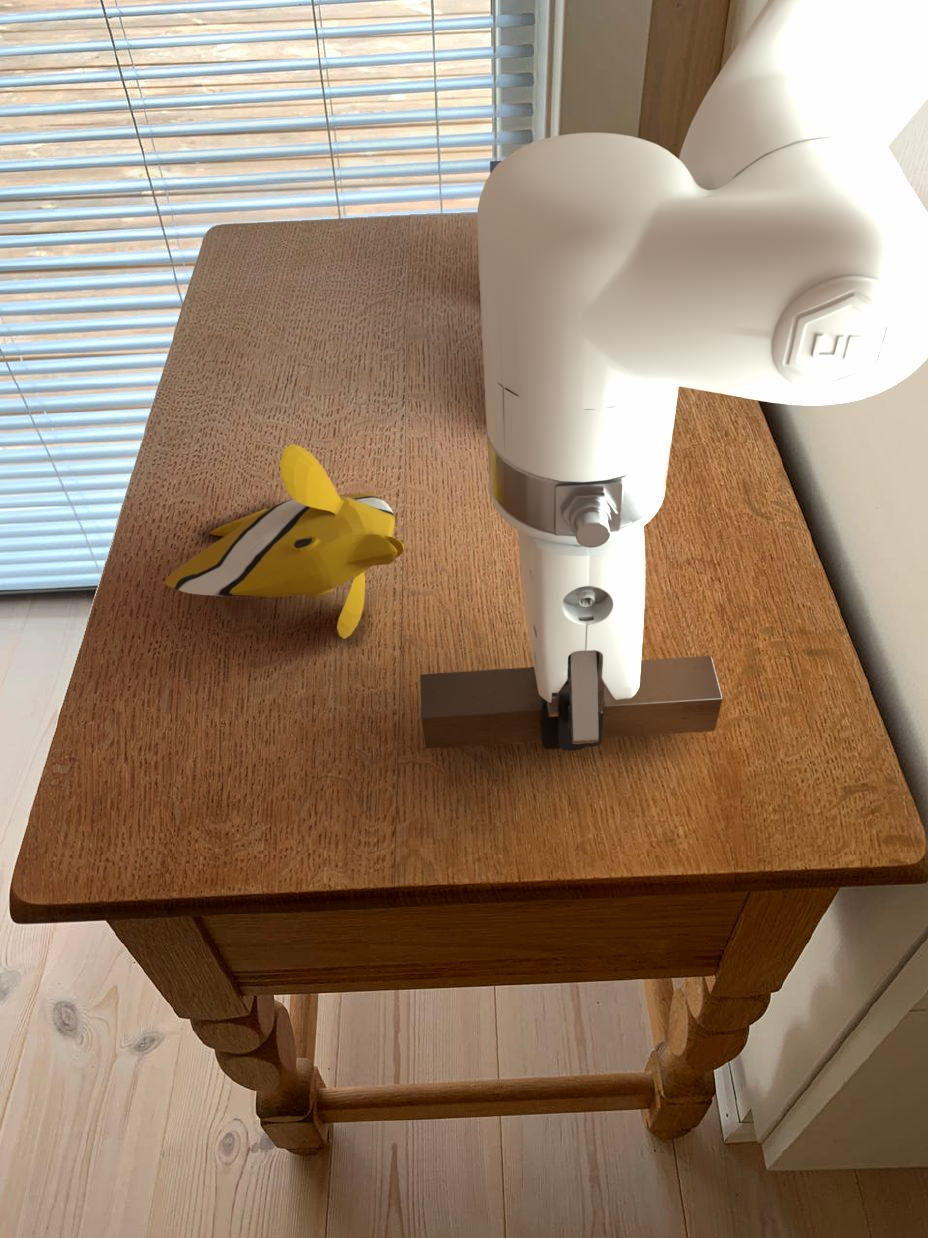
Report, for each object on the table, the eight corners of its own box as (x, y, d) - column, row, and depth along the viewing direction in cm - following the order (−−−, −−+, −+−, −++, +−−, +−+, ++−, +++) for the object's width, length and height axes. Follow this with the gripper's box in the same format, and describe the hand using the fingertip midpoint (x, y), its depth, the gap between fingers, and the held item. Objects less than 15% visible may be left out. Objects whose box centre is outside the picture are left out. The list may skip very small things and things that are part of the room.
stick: (704, 688, 56) (711, 655, 54) (715, 731, 54) (723, 699, 52) (424, 705, 56) (420, 673, 54) (425, 749, 54) (420, 718, 52)
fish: (428, 420, 54) (171, 524, 49) (486, 617, 59) (259, 732, 54) (305, 400, 71) (103, 477, 65) (359, 556, 76) (176, 639, 70)
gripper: (705, 595, 36) (659, 843, 50) (637, 342, 47) (614, 603, 60) (499, 609, 36) (510, 852, 50) (479, 353, 47) (492, 611, 61)
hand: (567, 713), depth 55 cm, fingers closed on stick, 3 cm apart
